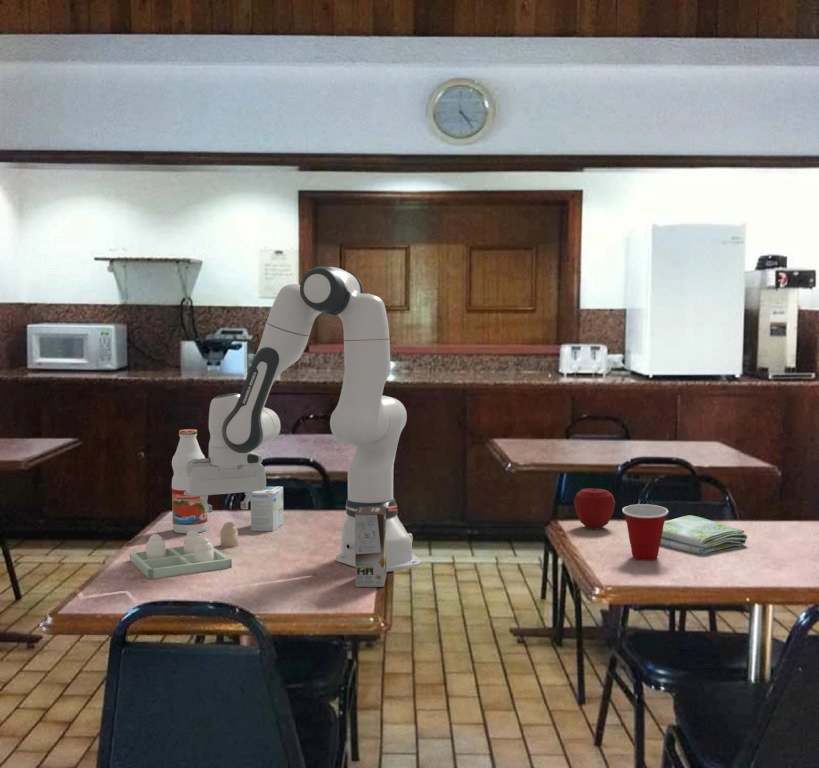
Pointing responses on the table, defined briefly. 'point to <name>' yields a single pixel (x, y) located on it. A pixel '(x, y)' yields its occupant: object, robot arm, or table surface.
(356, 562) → the coffee box
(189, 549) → the cream egg
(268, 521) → the light bulb box
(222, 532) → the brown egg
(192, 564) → the egg tray
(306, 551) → the table surface
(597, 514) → the apple
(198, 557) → the cream egg
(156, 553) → the cream egg
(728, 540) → the towel
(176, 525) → the fruit juice
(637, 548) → the plastic cup
